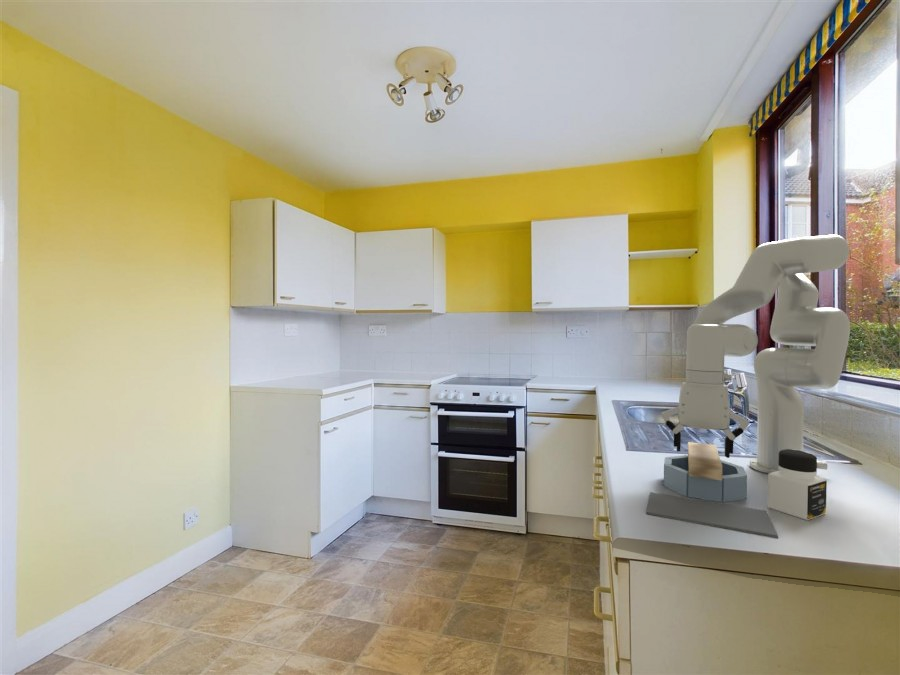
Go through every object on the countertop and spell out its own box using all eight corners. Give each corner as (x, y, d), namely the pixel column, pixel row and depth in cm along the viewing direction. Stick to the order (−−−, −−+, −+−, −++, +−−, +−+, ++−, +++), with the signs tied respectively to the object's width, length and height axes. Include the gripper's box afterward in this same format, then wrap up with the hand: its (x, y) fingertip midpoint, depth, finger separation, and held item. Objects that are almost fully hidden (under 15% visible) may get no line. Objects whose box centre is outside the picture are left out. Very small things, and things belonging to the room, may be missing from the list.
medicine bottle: (808, 521, 84) (809, 458, 83) (766, 507, 90) (767, 449, 90) (826, 514, 87) (828, 453, 87) (785, 501, 93) (786, 445, 93)
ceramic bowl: (740, 482, 105) (740, 461, 104) (749, 506, 90) (750, 482, 90) (665, 472, 112) (665, 452, 112) (662, 492, 98) (663, 470, 98)
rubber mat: (766, 512, 87) (766, 510, 87) (778, 537, 77) (778, 535, 77) (650, 493, 97) (650, 491, 97) (646, 513, 86) (646, 511, 86)
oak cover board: (715, 457, 108) (715, 444, 108) (722, 480, 91) (722, 466, 91) (687, 453, 111) (688, 441, 111) (689, 475, 94) (689, 461, 94)
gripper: (747, 379, 100) (745, 454, 100) (662, 374, 108) (660, 444, 108) (752, 382, 93) (750, 463, 93) (661, 377, 101) (659, 451, 101)
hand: (702, 453), depth 101 cm, fingers open, 9 cm apart
